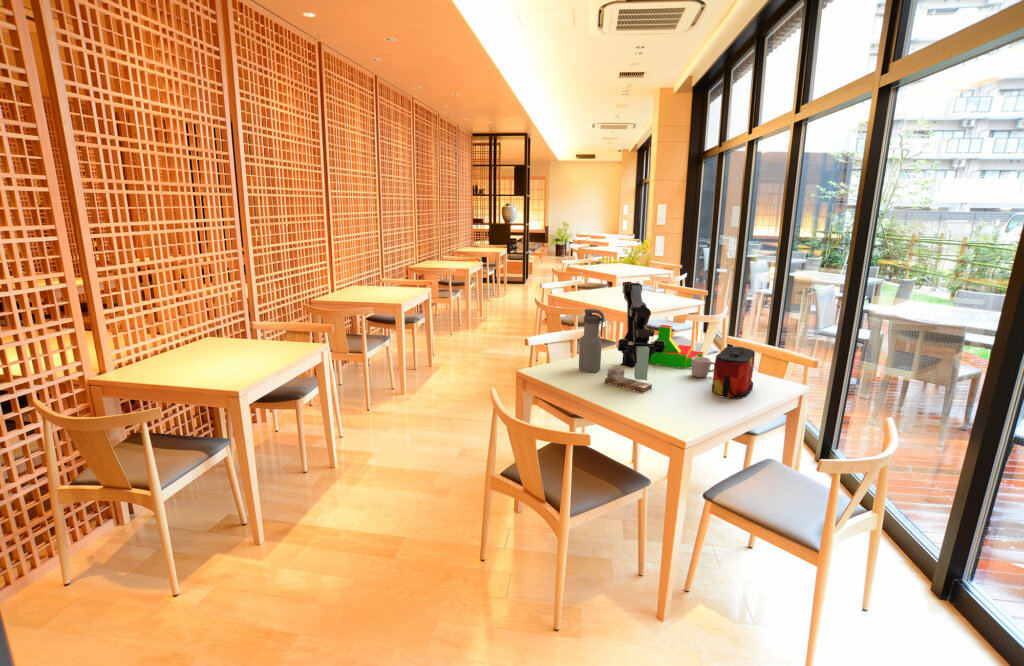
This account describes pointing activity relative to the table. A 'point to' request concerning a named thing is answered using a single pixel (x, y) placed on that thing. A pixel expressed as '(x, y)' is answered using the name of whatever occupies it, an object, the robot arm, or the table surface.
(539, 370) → the table surface
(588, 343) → the water bottle
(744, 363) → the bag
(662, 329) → the building blocks toy
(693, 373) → the cup
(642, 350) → the pillar
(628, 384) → the brown long stepped block
